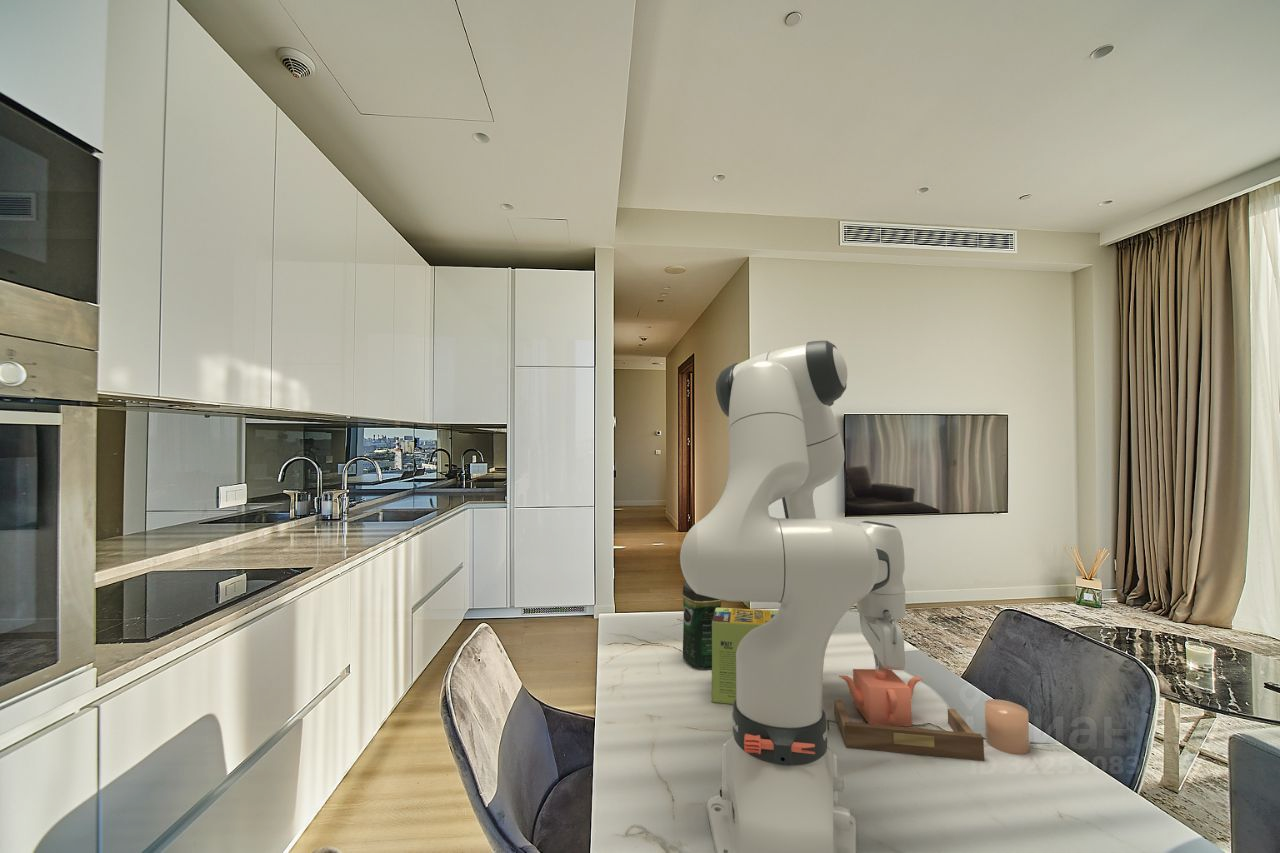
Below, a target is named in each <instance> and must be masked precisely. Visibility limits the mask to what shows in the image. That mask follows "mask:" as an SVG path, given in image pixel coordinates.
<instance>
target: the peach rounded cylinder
mask: <svg viewBox="0 0 1280 853" xmlns="http://www.w3.org/2000/svg"><path fill="white" fill-rule="evenodd" d="M983 704H984V729H985V730H984V731H985V742H986V744H987V745H989V746H990V747H992V748H993V749H995V750H998V751H1000V752H1003V753H1005V754H1009V755H1010V754H1011V755H1020V756H1021V755H1022V756H1023V755H1027V754H1029V753H1030V750H1031V749H1030V728H1029V727H1030V726H1029V723H1030V722H1029V711H1028V709H1027V708H1025V707H1024V706H1022V705H1020V704H1018V703H1015V702H1012V701H1009V700H1004V699H992V698H991V699H987V700H985V701H984V703H983Z"/></svg>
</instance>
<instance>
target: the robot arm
mask: <svg viewBox="0 0 1280 853" xmlns="http://www.w3.org/2000/svg"><path fill="white" fill-rule="evenodd" d="M847 367H848V366H847V363H846V360H845V358H844V357H843V355H842V353H841V352H840V351H839V349H838V348H837V346H836V345H835V344H834V343H832V342H830V341H828V340H812V341H808V342H806V344H801V345H796V346H790V347H785V348H781V349H777V350H773V351H767V352H764V353H761V354H759V355H756V356H753V357H751V358H748V359H747V360H744V361H742V362H740V363H739V362H735V363H732V364H731V365H729V366H727V367H725V368H723V370H722V371H720V373H719V375H718V377H717V379H716V382H715V393H716V398H717V402H718V405H719V406H720V409H721V411H722V412H723V414H724V415H725V416H726V417H728V438H729V441H728V442H729V462H728V463H729V466H728V476H727V482H726V484H725V487H724V490H723V493H722V494H721V496H720V498H719V501H717V503H716V504H715V506H713V508H712V509H711V510H710V511H709V512H708V514H706V515H705V516H704V517H703V518H702V519H700V520H698V521H697V522H696V523H695V524H694V525H692V526H691V528H690V529H689V530H688V531H687V533H686V535H685V536H684V538H683V542H682V544H681V546H680V552H679V553H680V554H679V562H680V569H681V571H682V575H683V577H684V579H685V582H686V581H687V583H688V585H689V586H690V587H691V588H692V590H693V591H694V592H695V593H696V594H699V595H703V596H707V597H711V598H716V599H721V600H722V601H727V602H741V603H743V602H746V603H749V602H750V603H752V602H753V603H778V604H780V606H779V608H778V610H777V611H778V612H777V613H776V615H775V616H774V617H773V618H772V619H771V620H769V621H768V622H766V623H765V624H763V625H760V626H758V627H756V628H754V629H753V630H751V631H750V632H748V633H747V634H746V635H745V636H744V637H743V638H742V640H741V641H740V643H739V645H738V647H737V651H736V700H735V701H734V704H732V706H733V707H732V712H731V714H732V715H731V721H732V736H731V737H729V739H728V740H727V741H725V742H724V743H723V744H722V759H721V760H722V764H721V765H722V768H721V769H722V771H721V772H722V773H721V776H722V778H721V781H722V782H721V784H722V785H721V786H720V789H719V794H716V795H714V796H711V797H710V798H708V800H707V803H706V811H707V817H708V821H709V825H710V830H711V836H712V842H713V846H714V852H715V853H857V822H856V818H855V816H853V815H852V814H851V813H850V809H849V807H845V806H844V804H843V803H839V802H838V798H839V797H838V795H839V794H838V792H840V793H844V779H842V778H838V757H837V755H836V754H835V753H834V752H833V751H832V750H831V749H830V747H828V730H827V722H826V718H827V716H826V711H825V709H823V683H824V682H823V680H824V678H823V677H824V667H825V656H826V652H827V647H828V644H829V641H830V639H831V636H832V634H833V632H834V630H835V628H836V626H837V625H838V623H839V622H840V621H841V619H842V618H843V617H844V616H845V614H846V613H847V612H849V610H850V609H851V608H852V607H854V606H855V604H856V611H857V612H858V613H859V614H858V615H859V624H860V628H861V629H860V630H861V634H862V636H863V637H864V640H866V642H867V643H868V645H869V647H870V648H871V650H872V654H873V658H874V664H875V665H874V667H875V668H874V669H878V670H892V671H904V669H905V666H906V654H905V640H904V638H905V637H904V633H903V629H902V627H901V625H900V624H899V622H900V621H899V620H900V619H903V618H905V617H906V614H907V613H906V610H907V609H906V589H905V588H906V587H905V585H904V581H903V580H904V579H903V576H904V572H905V548H904V542H903V537H902V533H901V531H900V529H899V528H898V527H896V526H895V525H893V524H890V523H883V522H878V521H870V520H864V521H860V522H859V524H858V525H856V524H852V523H848V522H844V521H843V522H842V521H839V520H833V519H832V520H831V519H826V518H817V517H816V516H817V515H816V510H815V503H814V498H813V497H814V492H815V490H816V488H818V487H820V486H822V485H825V484H826V483H828V482H829V481H831V480H832V479H834V478H835V477H836V476H837V475H838V474H839V473H840V471H841V469H842V467H843V465H844V463H845V449H844V448H845V447H844V444H843V440H842V436H841V433H840V430H839V427H838V423H837V420H836V418H835V415H834V412H833V411H832V406H833V405H835V404H834V403H835V402H836V401H837V400H838V399H840V398H841V397H842V395H843V394H844V392H845V391H846V389H847V382H848V368H847ZM779 500H782V506H783V512H784V517H785V518H784V517H783V518H782V517H781V518H780V517H778V518H777V517H773V516H772V515H770V513H769V507H770V506H771V505H772V504H773V503H775V502H777V501H779Z"/></svg>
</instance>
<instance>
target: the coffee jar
mask: <svg viewBox="0 0 1280 853" xmlns="http://www.w3.org/2000/svg"><path fill="white" fill-rule="evenodd" d="M682 586H683V587H682V603H683V605H682V606H683V628H682V630H683V631H682V632H683V633H682V634H683V636H682V658H683V659H684V661H685V662H686V663H687V664H689V665H690V666H691V667H693V668H696V669H705V670H710V669H711V670H712V619H713V616H714V612H715V608H722V607H721V606H722V601H723V600H721V599H716V598H711V597H707V596H703V595H699V594H696V593H695V592H694V591H693V590H692V588H691V587H690V586H689V585H688V583H687V581H686V580H685V582H684V583H683V585H682Z"/></svg>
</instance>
